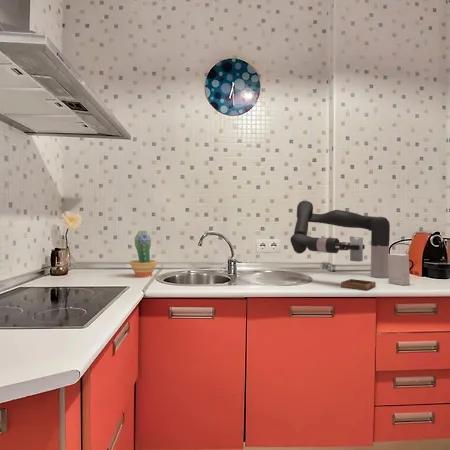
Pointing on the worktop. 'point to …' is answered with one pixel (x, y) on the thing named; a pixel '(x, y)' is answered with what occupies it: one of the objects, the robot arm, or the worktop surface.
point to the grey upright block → (356, 254)
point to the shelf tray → (358, 284)
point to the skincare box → (398, 269)
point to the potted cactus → (143, 256)
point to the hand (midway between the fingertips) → (361, 247)
